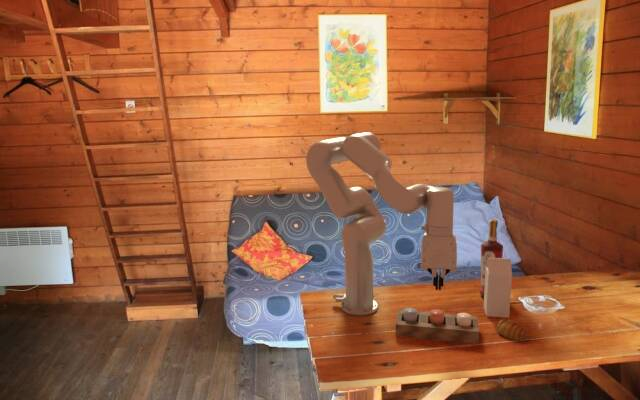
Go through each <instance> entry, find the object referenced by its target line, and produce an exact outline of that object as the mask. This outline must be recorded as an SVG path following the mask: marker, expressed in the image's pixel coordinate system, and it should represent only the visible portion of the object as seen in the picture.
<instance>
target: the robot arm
mask: <svg viewBox="0 0 640 400" xmlns="http://www.w3.org/2000/svg"><path fill="white" fill-rule="evenodd" d="M381 146H382V143H381V140H380V139H379V137H378V136H377V135H376V134H374V133H372V132H369V131H367V132H366V131H365V132H361V133H360V132H359V133H353V134H350V135H347V136H342V137H341V136H339V137H334V138H329V139H322V140H319V141H317V142H314V143H313V144H312V145H310V147H309V149H308V150H307V153H306V157H305V158H306V159H305V161H306V163H305V164H306V167H307V171H308V172H309V174H310V176H311V177H312V179H313V180H314V182H315V183H316V184H317V186H318V188H319V189H320V192H321V194H322V196H323V197H324V199H325V201H326V203H327V205H328V207H329V208H330V210H331V211H332V213H333V215H334V216H335V217H336V218H337V219H340V220H345V219H349V218H352V217H355V218H354V219H352V220H350V221H348V222H347V223H345V225H344V226H343V227H342V230H341V241H342V246H343V252H344V279H345V280H344V281H345V283H344V285H345V286H344V287H345V289H344V290H345V293H333V297H332V298H333V300H334V301H335V302H336V303H341V305H340V306H341V308H340V309H341V310H342V312H344V313H346V314H347V315H348V314H349V315H352V316H368V315H372V314H374V313H375V312H377V310H378V309H379V305H378V302H377V301H376V300H374V257H373V253H372V250H371V248H370V245H371V244H372V243H375V242H376V241H378V240H381V239H382V238H383V237H384V236H385V234H386V232H387V224H386V221H385V219H384V217H383V215H382V213H381V211H380V210H379V208H378V206H377V204H376V202H375V201H374V199H373V197H372V196H371V194H370V193H369V192H368V191H367V190H366V189H365V188H363V187H361V186H352V187H348V185H347V183H346V181H344V179H343V177H342V175H341V174H340V173H339V172H338V171H337V170H336V169H335V168H334V167H332V165H334V164H339V163H344V162H352V164H353V165H355V166H356V167H358V169H359V170H361V171H362V172H363V173H365V174H366V176H368V178H370V179H371V180H372V181H373V185H374V187H375V190H376V191H377V193H378V195H379V196H380V197H381V199H382V200H383V201H384V202H385V203H387V204H388V205H389V206H390V207H392V209H394V210H395V211H396V212H398V213H400V214H403V215H410V214H413V213H417V212H418V211H420V210H426V224H423V225H421V226H420V227H421V231H425V232H424V234H423V237H422V240H421V241H422V243H421V253H420V262H421V264H420V270H423V271H426V272H428V273H429V274H430V275H431V276H432V278H433V280H432V281H433V282H432V285H433V286H434V287H435V288H434V289H435V291H437V290H438V291H442V288H443V287H444V279H445V276H447V275H448V274H449V273H452V272H453V273H454V272H458V266H457V263H458V248H457V246H458V244H457V238H456V234H455V233H453V232H454V205H455V204H454V203H455V201H454V199H455V193H454V191H453V190H452V189H451V188H450V187H445V186H444V187H443V186H441V187H440V186H439V187H438V186H432V185H429V184H425V183H416V184H413V185H410V186H407V187H405V186H403V185H402V184H401V183H400V182H399V181H397V180H396V179H395V178H394V176H393V175H392V174H391V168H392V165H393V160H392V159H391V157H390V156H388V155H387V154H385V153H384V152H383V151H382V150H381V148H382V147H381ZM437 270H440V272H439V273H438V272H437Z"/></svg>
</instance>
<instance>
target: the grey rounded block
mask: <svg viewBox="0 0 640 400" xmlns="http://www.w3.org/2000/svg"><path fill="white" fill-rule="evenodd" d="M403 310H404V312H403V321H408V322H417V311H418V309H416V308H413V307H406V308H404V309H403Z"/></svg>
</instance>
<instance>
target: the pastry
mask: <svg viewBox="0 0 640 400" xmlns="http://www.w3.org/2000/svg"><path fill="white" fill-rule="evenodd" d="M495 330H496V331H497V332H498V333H497V334H499V335H502V336H503V337H505V338H507V339H511V340H514V341H517V342H519V341H521V342H526V341H528V340H529V339H530V336H531V335H530V332H529V331H527V328H525V327H524V326H523V325H520V324H519V323H518V322H516V321H514V320H512V319H510V320H508V319H507V318H502V319H500V320H499V322H498V323H497V325H496V327H495Z"/></svg>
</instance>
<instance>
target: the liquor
mask: <svg viewBox="0 0 640 400" xmlns="http://www.w3.org/2000/svg"><path fill="white" fill-rule="evenodd" d="M498 222H499V221H498V220H497V219H489V224H488V226H489V231H488V239H487V240H486V241H484V242H482V243H481V244H480V268H481V269H480V270H481V271H480V289H479V294H480V295H482V297H484V288H485V270H486V264H487V261H488V258H502V259H503V253H504V252H503V251H504V245H502V244H501V242H499V241H498V236H497V235H498V234H497V228H498V225H499V224H498Z"/></svg>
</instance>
